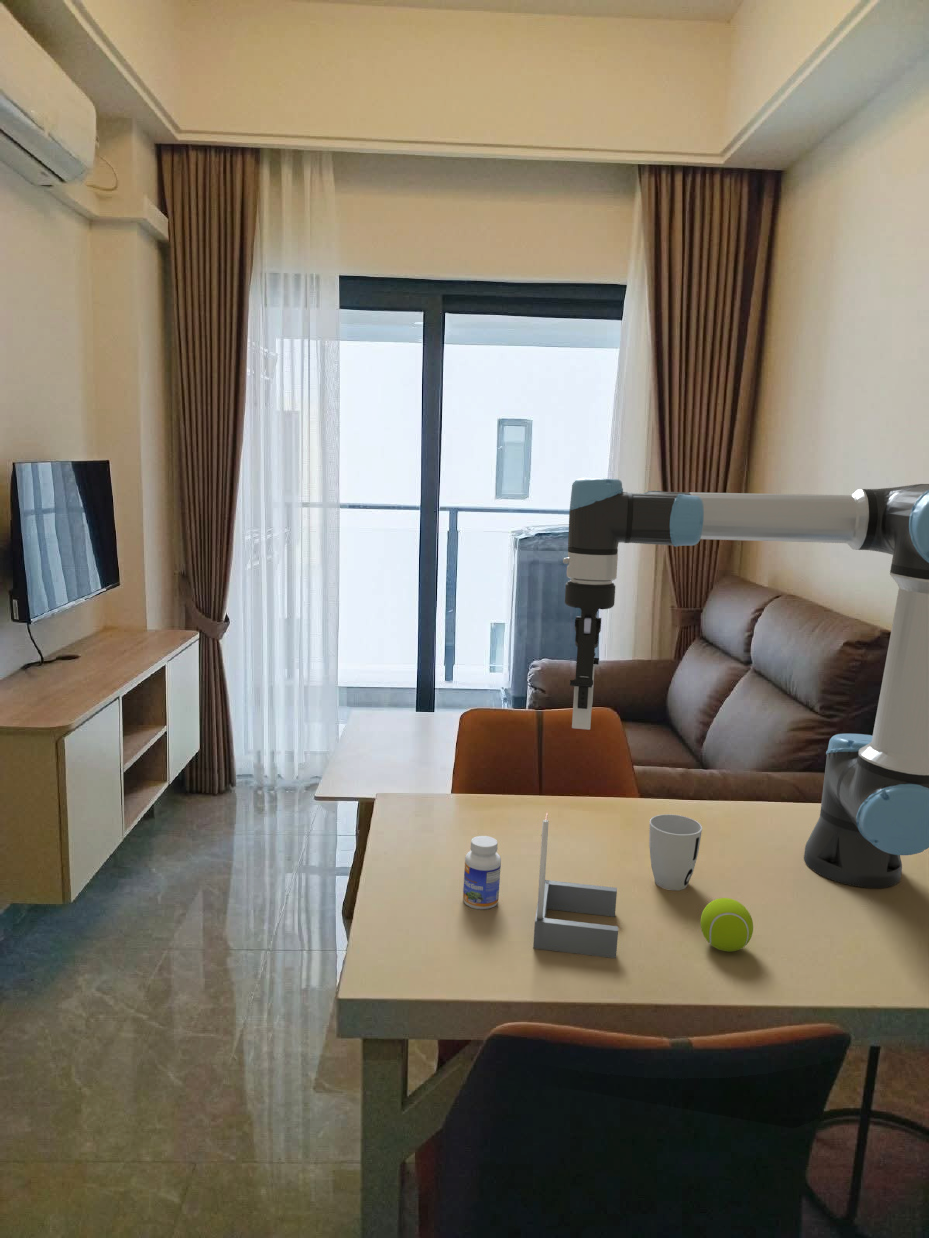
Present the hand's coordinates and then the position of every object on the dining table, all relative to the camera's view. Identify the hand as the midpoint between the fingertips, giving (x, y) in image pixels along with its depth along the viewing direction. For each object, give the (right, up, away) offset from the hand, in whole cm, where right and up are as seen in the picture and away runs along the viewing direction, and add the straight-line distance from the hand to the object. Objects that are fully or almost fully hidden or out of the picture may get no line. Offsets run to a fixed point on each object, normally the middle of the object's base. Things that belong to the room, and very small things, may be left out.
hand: (582, 715), depth 136 cm
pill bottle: (-16, -28, -4) cm, 32 cm away
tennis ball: (+18, -31, -14) cm, 38 cm away
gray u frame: (-2, -29, -12) cm, 32 cm away
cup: (+15, -27, +4) cm, 31 cm away
